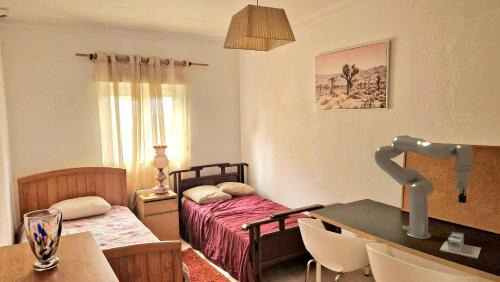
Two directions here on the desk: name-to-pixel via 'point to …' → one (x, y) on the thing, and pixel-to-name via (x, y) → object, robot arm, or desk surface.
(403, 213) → the desk surface
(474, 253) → the mat
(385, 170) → the robot arm
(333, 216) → the desk surface
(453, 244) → the syrup box
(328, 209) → the desk surface
